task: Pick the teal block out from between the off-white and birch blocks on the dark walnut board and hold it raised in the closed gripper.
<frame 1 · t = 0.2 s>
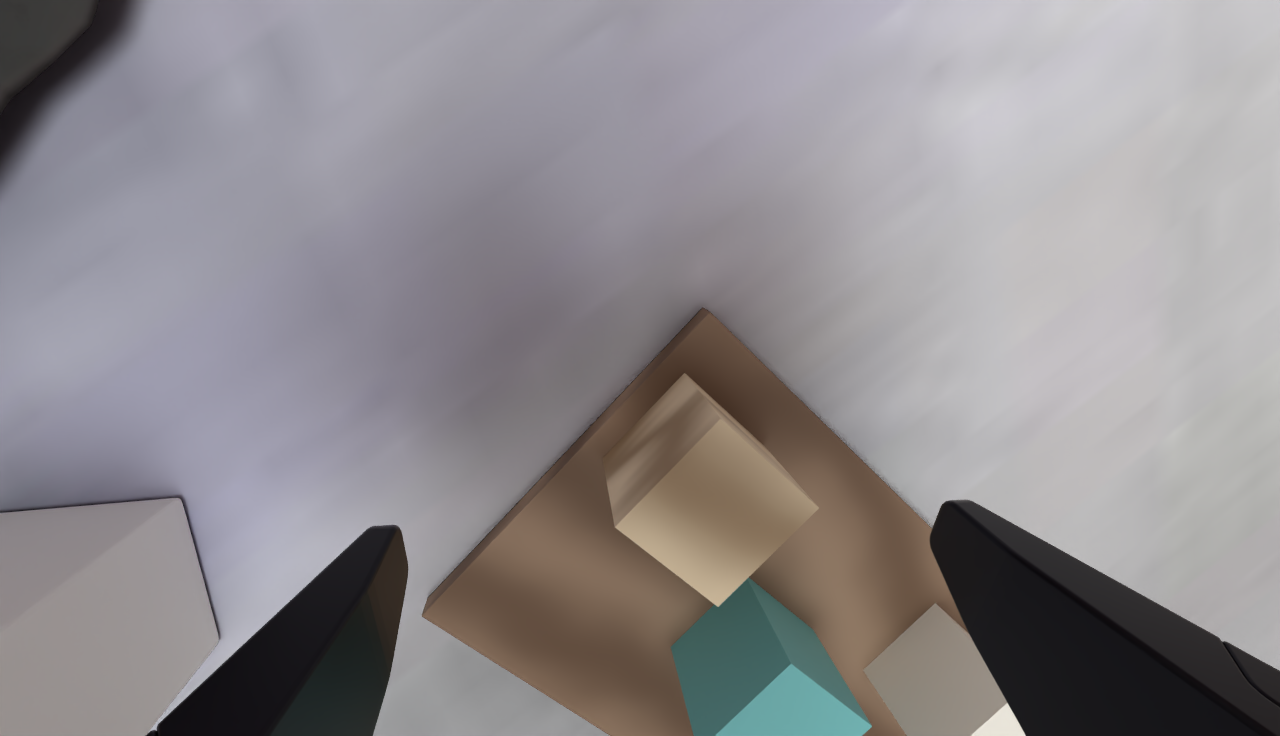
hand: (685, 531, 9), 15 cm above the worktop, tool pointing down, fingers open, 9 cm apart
teal block: (743, 638, 27), point 1 cm above the worktop, touching walnut board
walnut board: (749, 607, 29), on the worktop
off-white block: (927, 661, 29), point 1 cm above the worktop, touching walnut board
milk carton: (115, 576, 24), on the worktop
birch block: (684, 452, 24), point 1 cm above the worktop, touching walnut board
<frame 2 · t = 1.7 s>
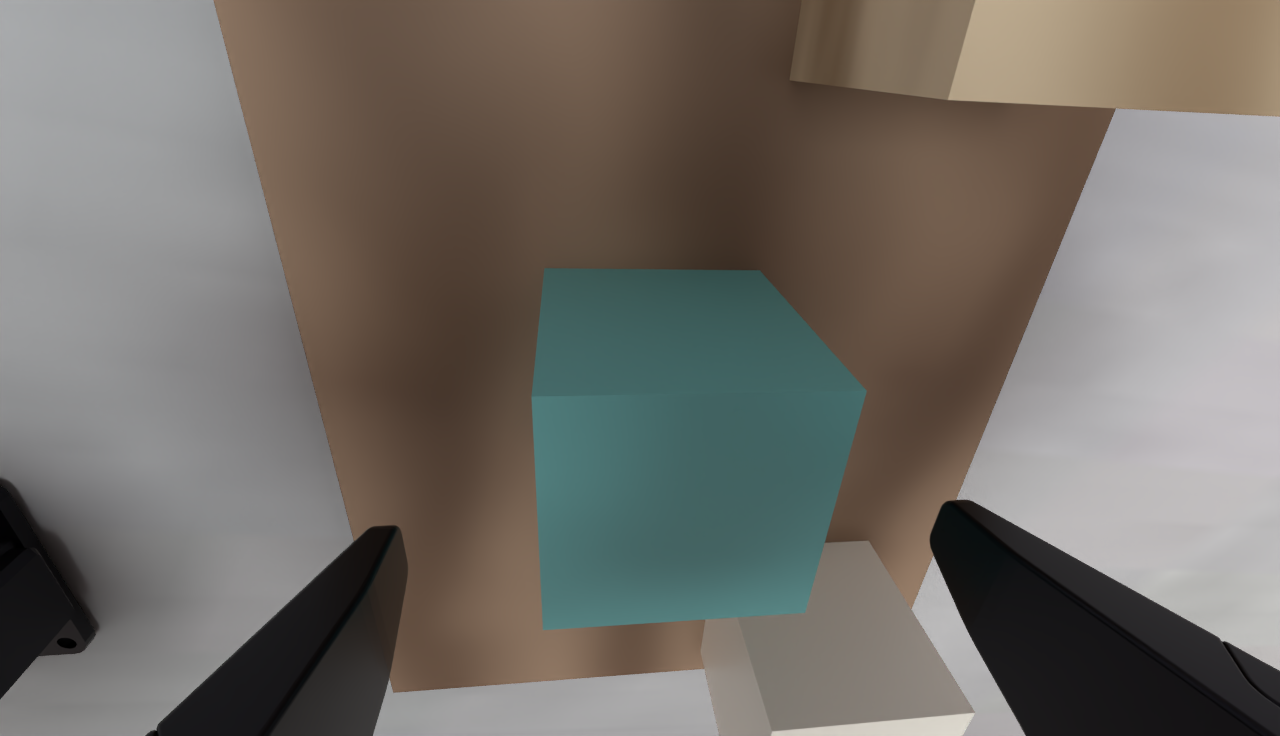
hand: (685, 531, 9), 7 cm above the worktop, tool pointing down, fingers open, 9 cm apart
teal block: (648, 365, 14), point 1 cm above the worktop, touching walnut board
walnut board: (679, 343, 15), on the worktop
off-white block: (780, 598, 19), point 1 cm above the worktop, touching walnut board
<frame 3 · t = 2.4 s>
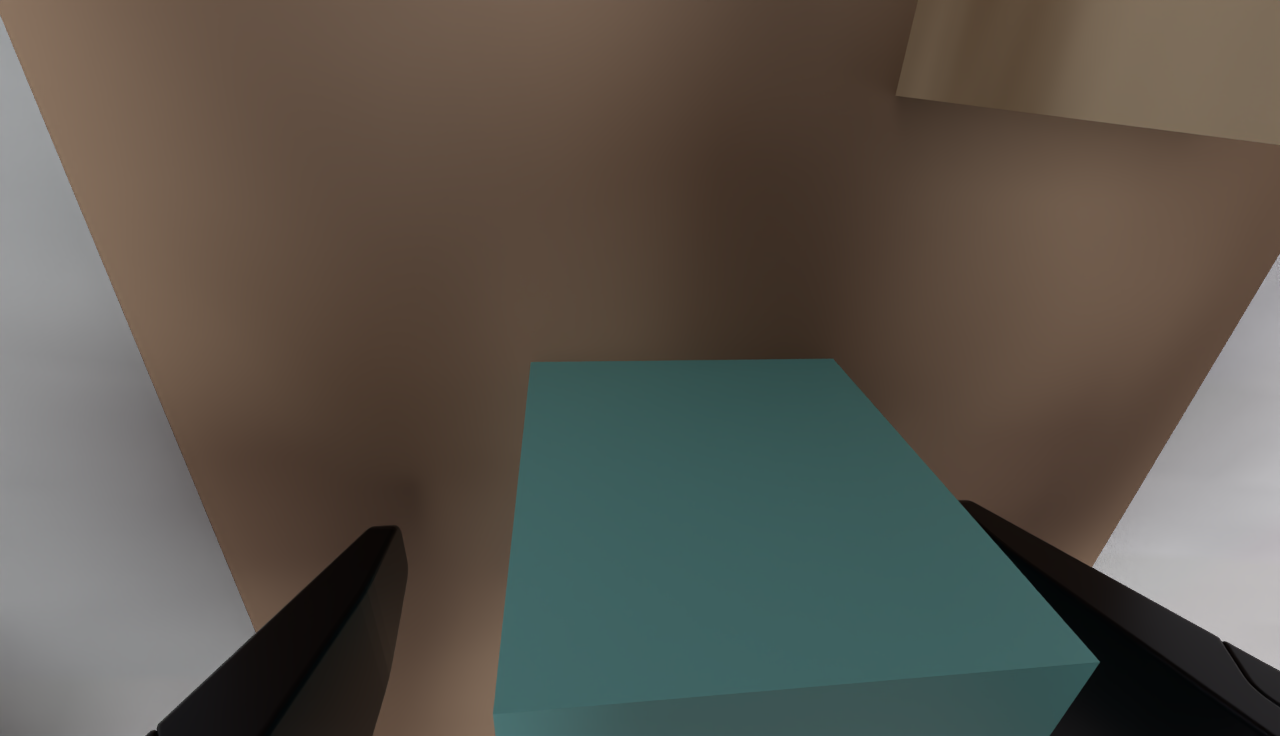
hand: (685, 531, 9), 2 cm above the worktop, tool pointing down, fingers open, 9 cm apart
teal block: (674, 480, 10), point 1 cm above the worktop, touching walnut board
walnut board: (713, 440, 12), on the worktop
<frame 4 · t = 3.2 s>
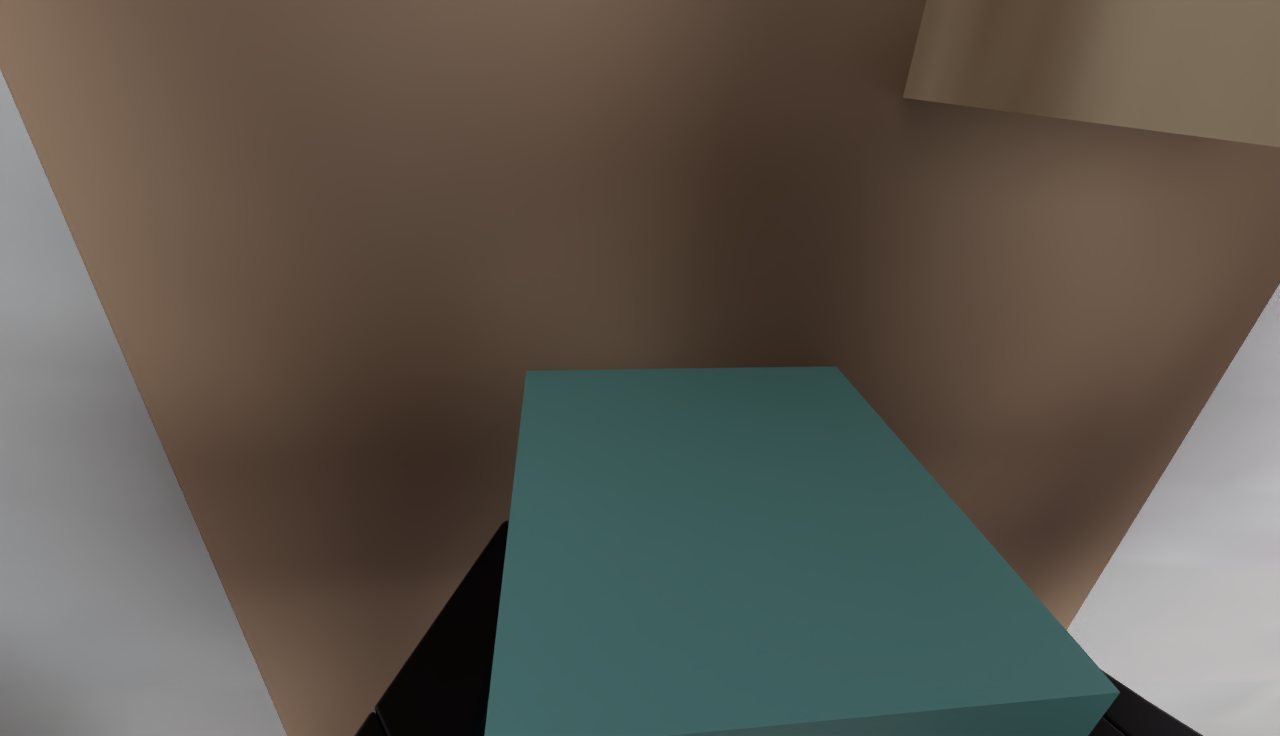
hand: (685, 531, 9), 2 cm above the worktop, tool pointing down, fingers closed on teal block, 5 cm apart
teal block: (674, 490, 10), point 1 cm above the worktop, touching gripper, walnut board
walnut board: (714, 448, 11), on the worktop
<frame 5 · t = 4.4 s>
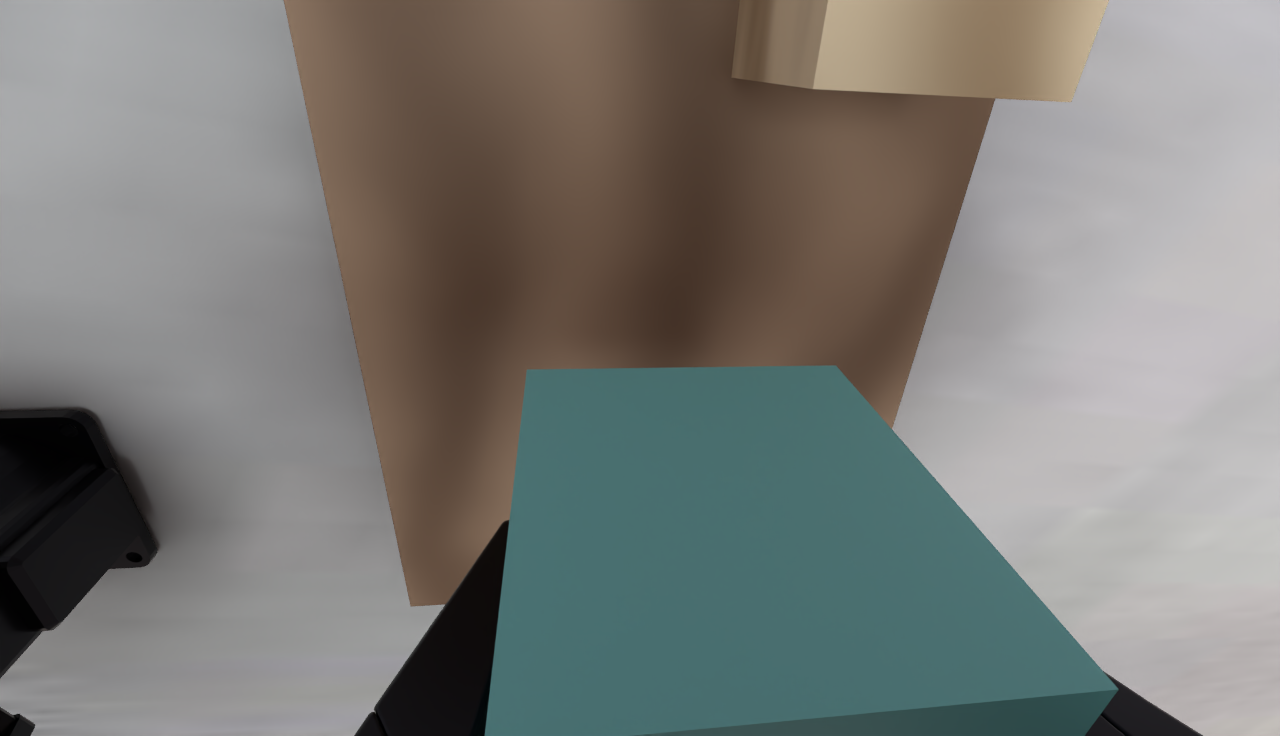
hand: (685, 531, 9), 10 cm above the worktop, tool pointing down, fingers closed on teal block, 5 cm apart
teal block: (674, 489, 10), point 9 cm above the worktop, touching gripper
walnut board: (652, 296, 19), on the worktop
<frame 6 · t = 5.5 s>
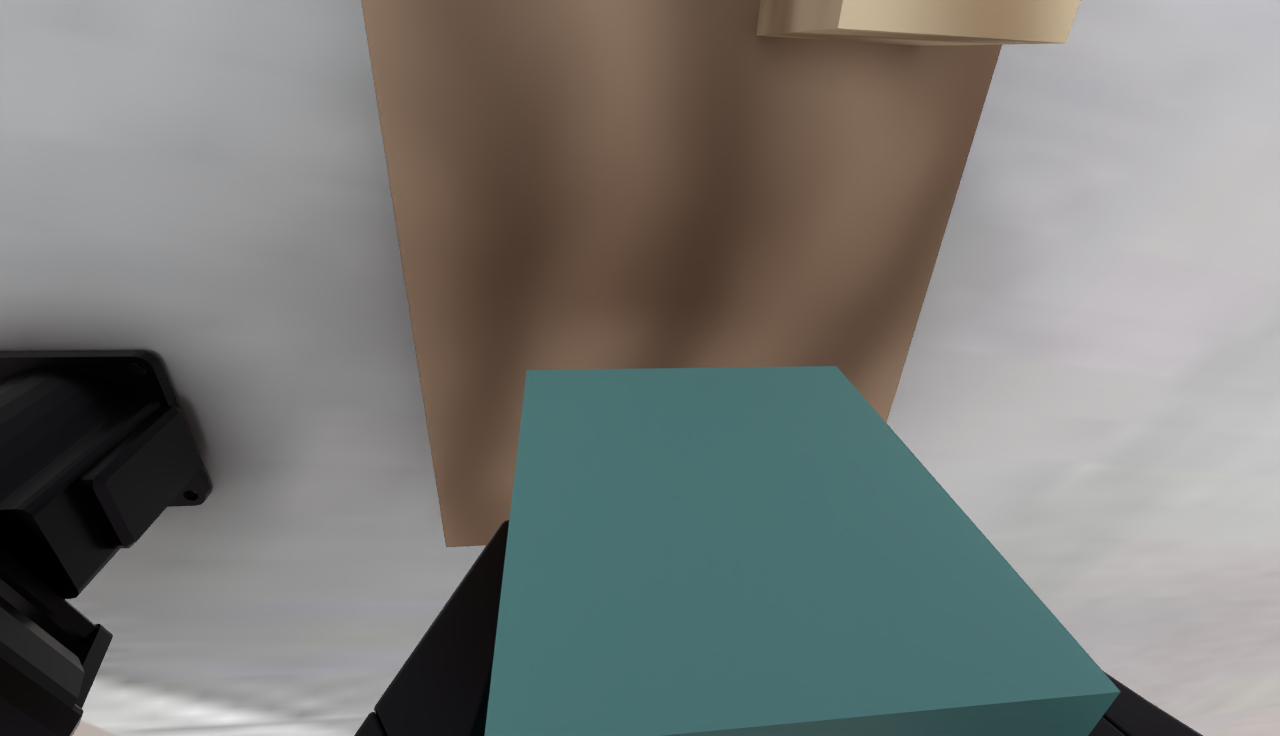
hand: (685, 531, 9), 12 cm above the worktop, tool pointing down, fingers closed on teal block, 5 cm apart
teal block: (674, 490, 10), point 11 cm above the worktop, touching gripper
walnut board: (677, 248, 20), on the worktop
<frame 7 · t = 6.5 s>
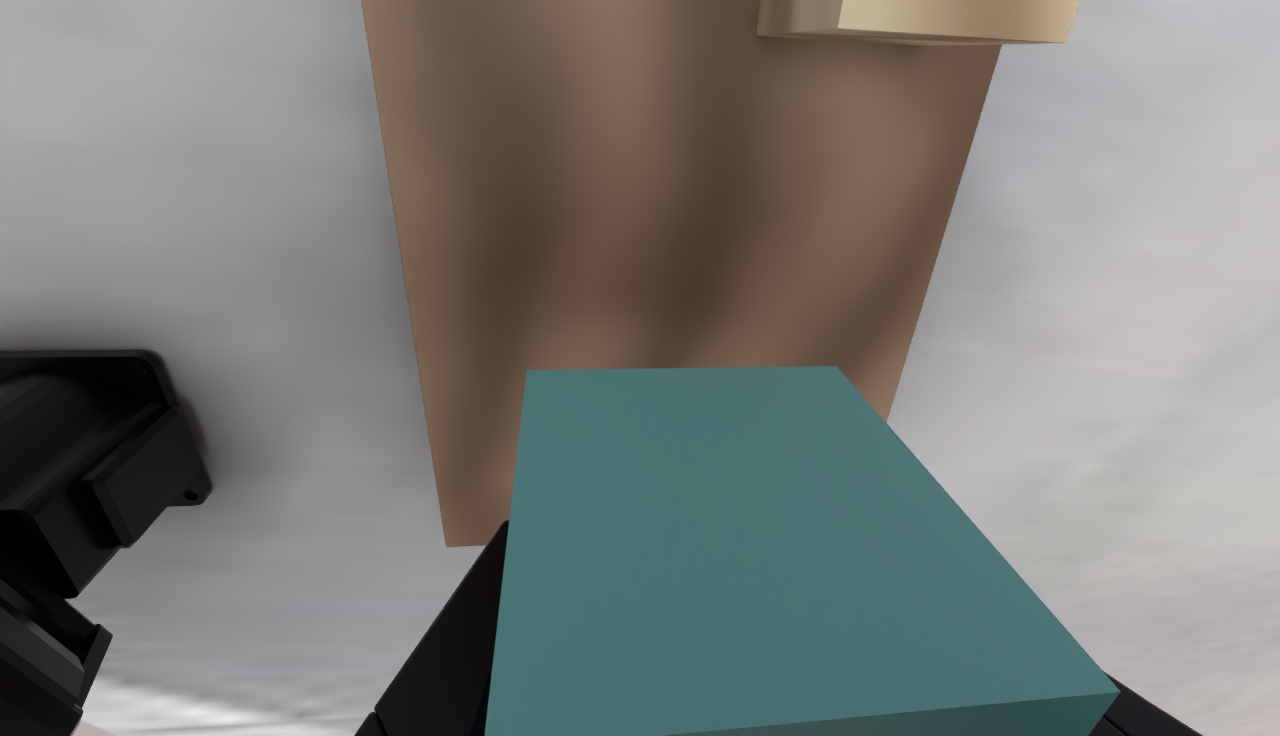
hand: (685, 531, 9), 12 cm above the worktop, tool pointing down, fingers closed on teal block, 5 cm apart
teal block: (674, 490, 10), point 11 cm above the worktop, touching gripper
walnut board: (677, 248, 20), on the worktop
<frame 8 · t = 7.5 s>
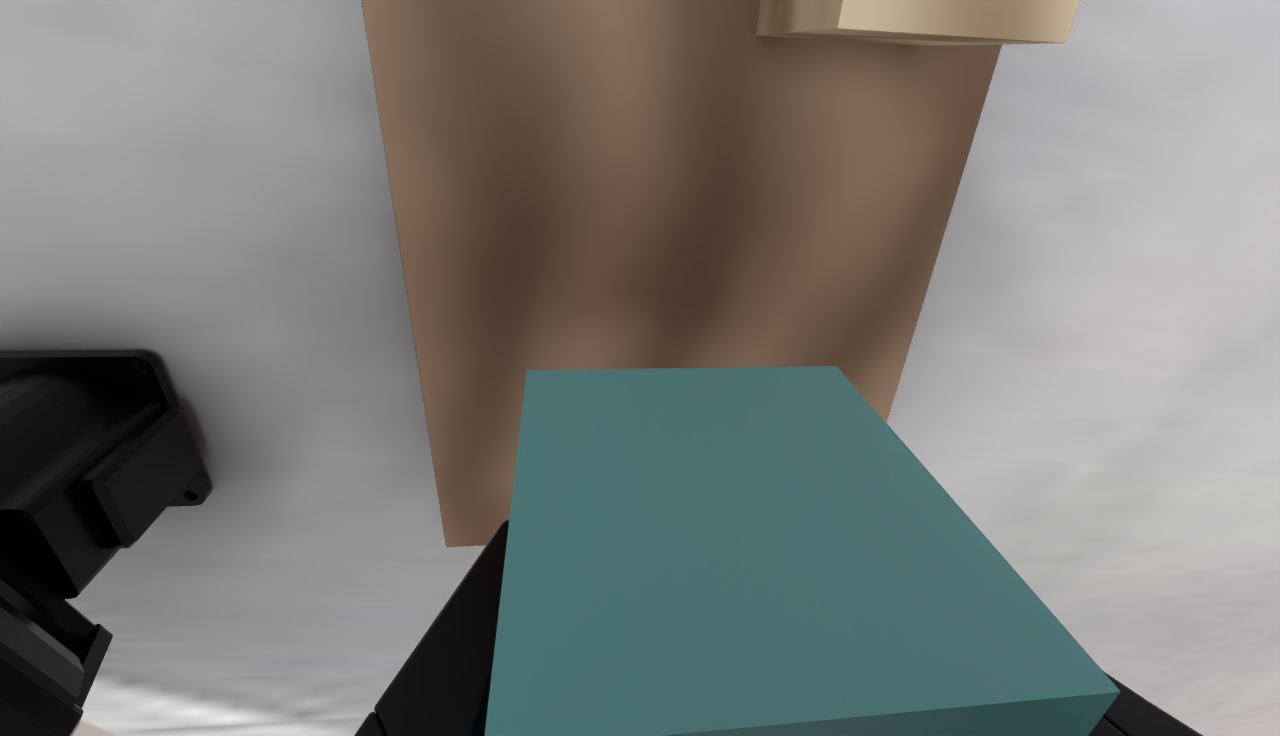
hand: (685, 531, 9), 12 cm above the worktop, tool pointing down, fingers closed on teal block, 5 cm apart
teal block: (674, 490, 10), point 11 cm above the worktop, touching gripper
walnut board: (677, 248, 20), on the worktop
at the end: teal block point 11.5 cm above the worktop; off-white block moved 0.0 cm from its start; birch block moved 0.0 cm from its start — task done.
